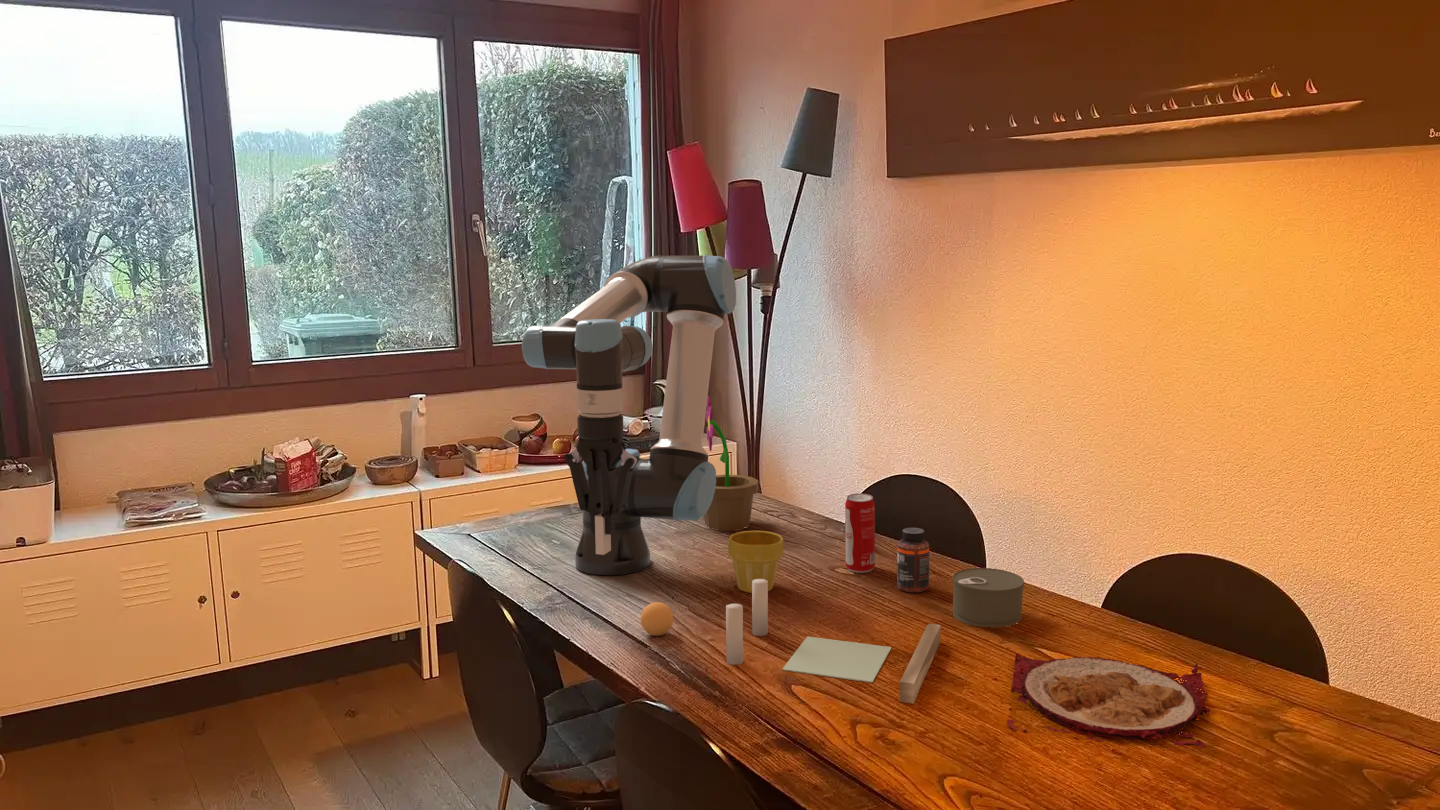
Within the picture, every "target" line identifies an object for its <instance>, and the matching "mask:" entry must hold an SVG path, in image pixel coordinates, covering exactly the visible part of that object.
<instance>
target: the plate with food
mask: <svg viewBox="0 0 1440 810" xmlns="http://www.w3.org/2000/svg"><path fill="white" fill-rule="evenodd" d="M1013 665H1014V668H1013V675H1012V684H1011V690H1010V692H1011V693H1012V692H1014V693H1018V694H1021V696H1018V697H1017V698H1016V699H1015V700H1016V702H1018V701H1020V702H1021V703H1023V704H1024V705H1027V704H1028V702H1027V701H1029V702H1030V703H1031V704H1032V706H1034V707H1035V708H1036V709H1037V710H1038V712H1040V713H1041V714H1043V715H1044V716H1045V717H1047V718H1046V719H1048V720H1050V721H1051V722H1057V723H1058V724H1060V725H1062V726H1065V727H1067V728H1069V731H1068V730H1066V729H1063V728H1061V729H1059V728H1058V727H1059V726H1058V727H1057V726H1056V729H1055V728H1054V727H1053V728H1052V726H1049V725H1043V726H1042V728H1044V729H1045V728H1046V730H1049V731H1052V732H1063V733H1067V734H1071V733H1074V734H1076V735H1082V734H1083V733H1085V734H1086V736H1088V737H1085V738H1086V739H1087V740H1093V741H1095V742H1098V743H1099V742H1104V740H1103V739H1105V738H1113V739H1116V738H1117V739H1120V738H1122V739H1131V740H1132V739H1142V740H1143V739H1144V740H1157V739H1160V740H1162V739H1163V738H1164V737H1165V738H1170V736H1171V738H1177V737H1180V736H1181V738H1183V737H1185V738H1187V739H1188V738H1189V739H1190V738H1192V737H1193V735H1194V733H1191V732H1188V730H1187V731H1186V732H1185V730H1186V729H1182V728H1183V727H1184V726H1185V727H1186V726H1187V725H1188V724H1189V723H1190V722H1191V721H1192V720H1195V719H1198V716H1199V717H1200V715H1201V714H1200V713H1201V712H1202V711H1204V710H1205V711H1206V712H1208V713H1209V712H1210V713H1211V709H1210V707H1207V706H1205V705H1204V704H1205V702H1206V699H1207V696H1209V693H1208V692H1206V691H1205V687H1204V681H1203V677H1202V672H1198V671H1199V669H1198V665H1199V663H1195V664H1193V668H1192V669H1191V670H1190V671H1191V674H1187V672H1185V674H1182V675H1181V676H1179V674H1178V673H1175V672H1167V671H1162V670H1158V669H1153V668H1152V667H1151V668H1150V667H1148V666H1145V665H1143V664H1134V663H1129V662H1125V661H1123V660H1115V659H1111V658H1102V657H1100V656H1094V657H1093V656H1088V657H1085V656H1083V657H1081V656H1077V657H1076V656H1075V657H1068V658H1057V659H1049V660H1042V659H1034V658H1028V657H1026V656H1022V655H1021V654H1020V653H1016V654H1015V657H1014V664H1013ZM1176 678H1179V679H1178V680H1180V679H1181V678H1182V681H1181V680H1180V682H1183V683H1179V682H1178V681H1177V680H1174V679H1176ZM1183 680H1184V681H1183ZM1185 680H1187V681H1185ZM1197 688H1198V689H1197ZM1200 689H1201V690H1200ZM1202 692H1203V693H1202ZM1204 693H1205V694H1204ZM1203 697H1204V698H1203ZM1032 706H1030V709H1032V710H1033V711H1034V709H1035V708H1033V707H1032ZM1202 709H1204V710H1202ZM1008 710H1009V711H1012V710H1013V709H1012V708H1008ZM1205 711H1204V712H1205ZM1206 712H1205V713H1206ZM1014 715H1016V712H1015V713H1014ZM1009 717H1010V718H1011V719H1007V722H1006V724H1007V726H1008V727H1010V728H1011V729H1012V730H1014V731H1016V732H1017V731H1018V728H1019V727H1018V726H1014V725H1013V724H1015V723H1017V721H1014V717H1013V716H1011V715H1010V716H1009ZM1193 718H1195V719H1193ZM1188 722H1189V723H1188ZM1187 723H1188V724H1187ZM1035 726H1036V728H1038V727H1039V726H1038V725H1037V724H1035ZM1020 727H1023V726H1022V724H1021V725H1020ZM1180 729H1182V730H1184V733H1183V732H1182V731H1181V730H1180ZM1177 731H1178V732H1177ZM1021 732H1022V733H1023V732H1025V733H1027V729H1026V728H1025V729H1023V730H1022V731H1021ZM1175 732H1176V733H1175ZM1179 732H1180V735H1179ZM1181 732H1182V733H1181ZM1187 732H1188V733H1187ZM1173 733H1175V734H1173ZM1169 734H1170V735H1169ZM1091 735H1092V736H1091ZM1093 735H1095V736H1093ZM1176 735H1177V737H1176ZM1096 736H1099V737H1100V739H1097V738H1096ZM1094 737H1095V738H1094ZM1073 739H1076V737H1074V738H1073ZM1134 743H1136V742H1134ZM1172 744H1173V745H1174V746H1181V747H1183V748H1185V749H1189V747H1188V746H1185V744H1193V745H1195V747H1196V748H1197V747H1198V746H1199V747H1202V748H1203V749H1206V748H1207V747H1206V744H1204V742H1203V741H1202V740H1201V739H1200V740H1199V738H1197V739H1196V740H1195V741H1193V740H1191V741H1190V740H1189V741H1188V740H1187V741H1185V740H1184V741H1183V740H1182V741H1179V740H1175V741H1174V742H1173V743H1172ZM1152 746H1155V744H1154V743H1152ZM1159 746H1161V747H1164V746H1165V745H1164V744H1162V743H1161V744H1160V745H1159ZM1154 750H1157V748H1156V747H1154Z"/></svg>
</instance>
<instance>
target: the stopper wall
mask: <svg viewBox="0 0 1440 810" xmlns="http://www.w3.org/2000/svg"><path fill="white" fill-rule="evenodd" d="M940 643H941V624H934V623H927V625H926V626H925V629H924V632H923V634H922V636H921V638H920V639H919V641H918V643H917V646H916V648H915V650H914V652H913V654H912V656H911V659H910V660H909V662H908V664H907V667H906V669H905V670H904V673H903V675H902V676H901V679H900V681H899V702H900V703H906V704H912V705H914V704H915V701H916V700H917V697H918V695H919V692H920V689H921V688H922V685H923V682H924V680H925V679H926V677H927V673H928V671H929V670H930V667H931V664H932V663H933V660H934V657H935V655H936V653H937V651H938V648H939V646H940Z"/></svg>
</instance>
